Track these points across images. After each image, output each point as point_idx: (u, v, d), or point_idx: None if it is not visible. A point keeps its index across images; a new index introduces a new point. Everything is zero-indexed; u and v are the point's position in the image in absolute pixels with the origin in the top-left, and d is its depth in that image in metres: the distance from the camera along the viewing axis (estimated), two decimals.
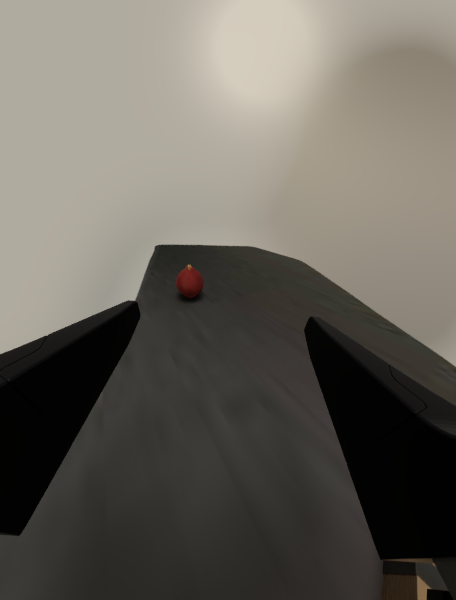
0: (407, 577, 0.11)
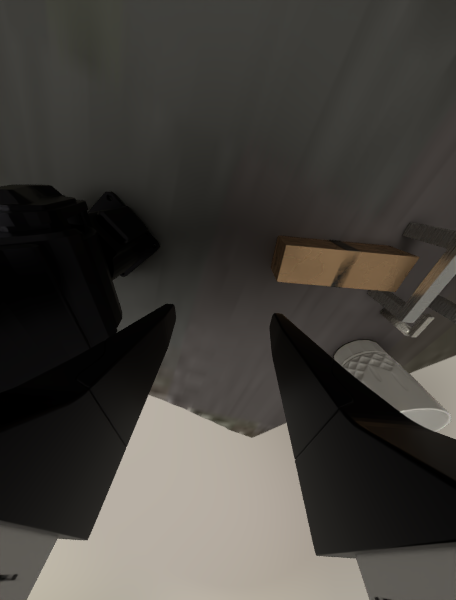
0: (340, 247, 0.16)
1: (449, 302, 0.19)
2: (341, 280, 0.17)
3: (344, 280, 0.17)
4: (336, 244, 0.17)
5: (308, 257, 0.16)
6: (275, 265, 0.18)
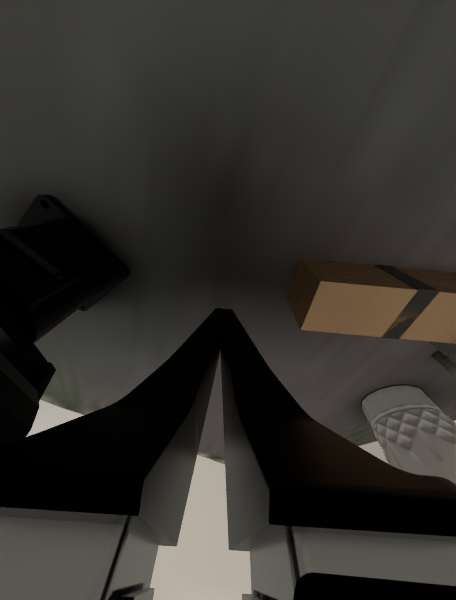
0: (403, 282, 0.10)
1: None
2: (399, 329, 0.11)
3: (404, 330, 0.11)
4: (392, 275, 0.11)
5: (353, 299, 0.10)
6: (296, 302, 0.13)
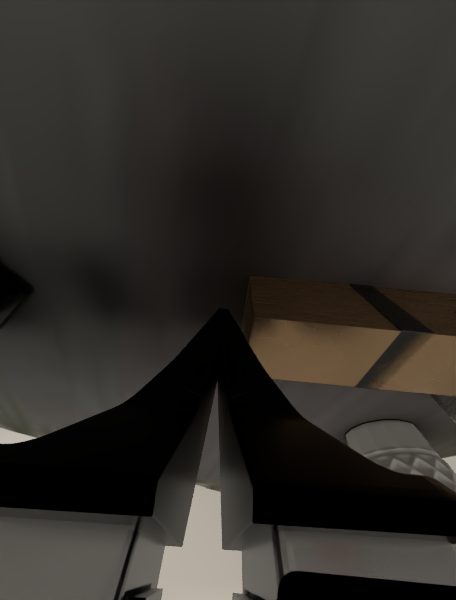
0: (382, 316, 0.07)
1: None
2: (379, 379, 0.08)
3: (386, 379, 0.08)
4: (369, 302, 0.08)
5: (307, 341, 0.07)
6: (244, 334, 0.09)
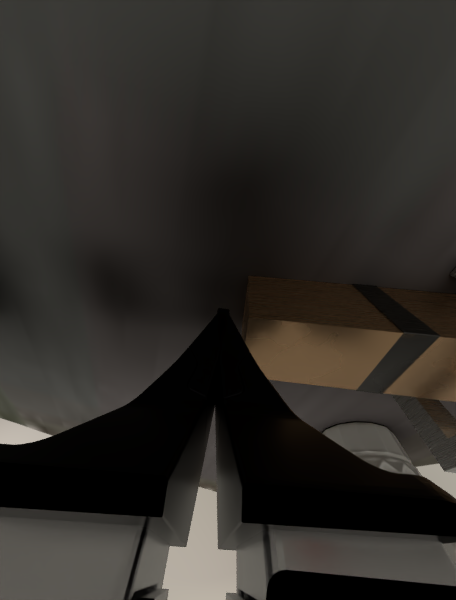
0: (384, 317, 0.07)
1: None
2: (382, 382, 0.08)
3: (389, 383, 0.08)
4: (371, 302, 0.08)
5: (303, 342, 0.07)
6: (242, 334, 0.09)
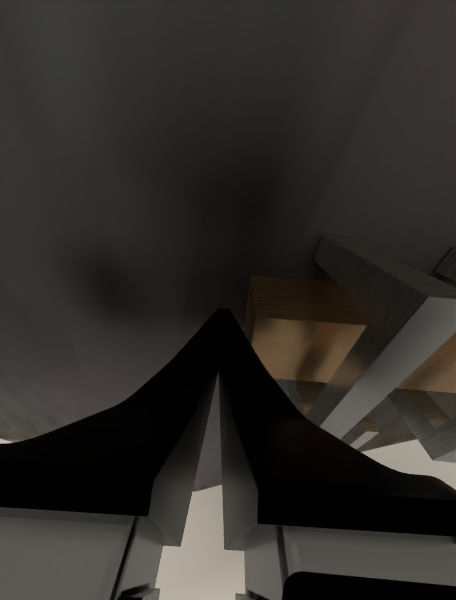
0: None
1: (416, 390, 0.10)
2: None
3: None
4: None
5: (310, 340, 0.07)
6: (246, 334, 0.09)
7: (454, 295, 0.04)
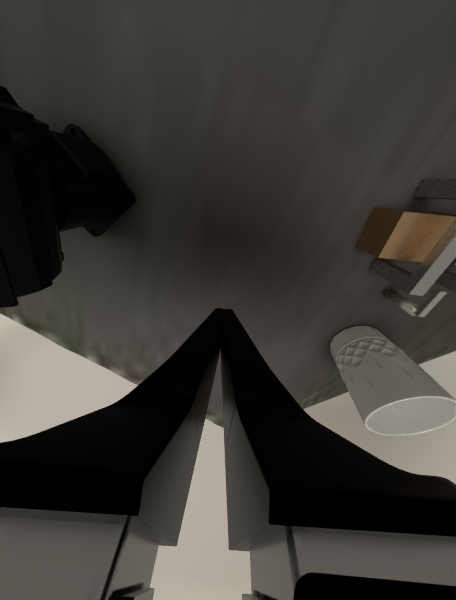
0: None
1: None
2: None
3: None
4: (450, 215, 0.15)
5: (425, 227, 0.14)
6: (370, 241, 0.16)
7: None
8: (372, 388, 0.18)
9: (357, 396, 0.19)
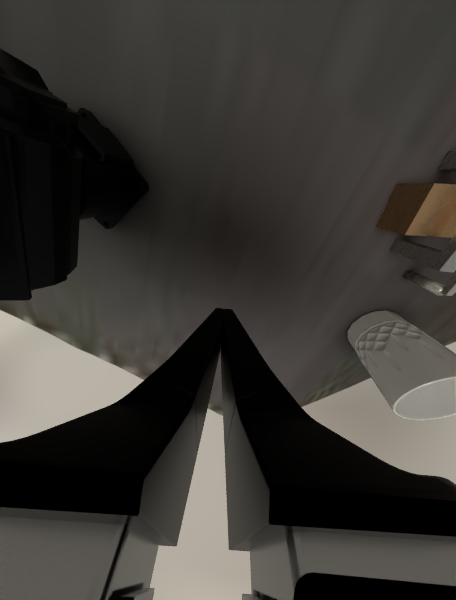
0: None
1: None
2: None
3: None
4: None
5: (455, 199, 0.13)
6: (394, 219, 0.16)
7: None
8: (400, 372, 0.17)
9: (382, 381, 0.18)
